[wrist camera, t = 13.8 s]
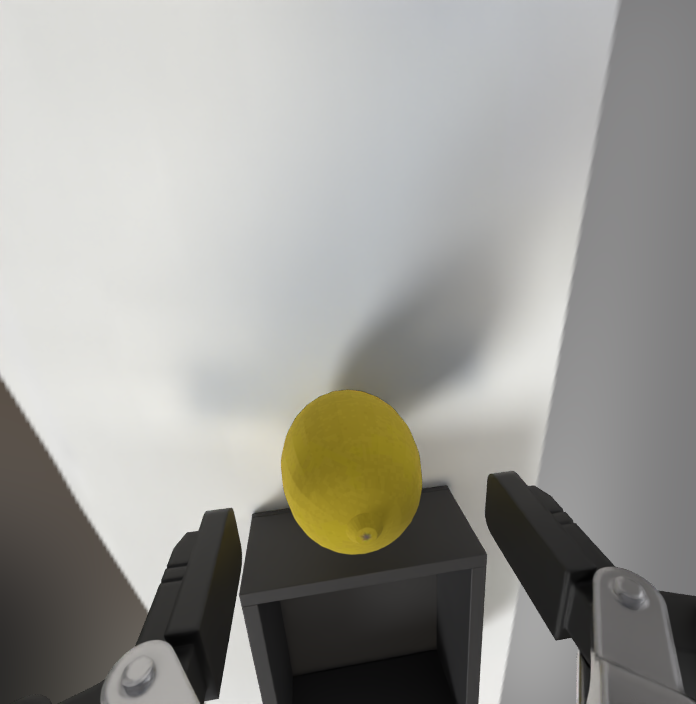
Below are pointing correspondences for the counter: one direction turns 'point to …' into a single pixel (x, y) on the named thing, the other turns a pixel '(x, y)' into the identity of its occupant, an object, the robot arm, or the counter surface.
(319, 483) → the lemon
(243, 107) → the counter surface
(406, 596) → the tote
